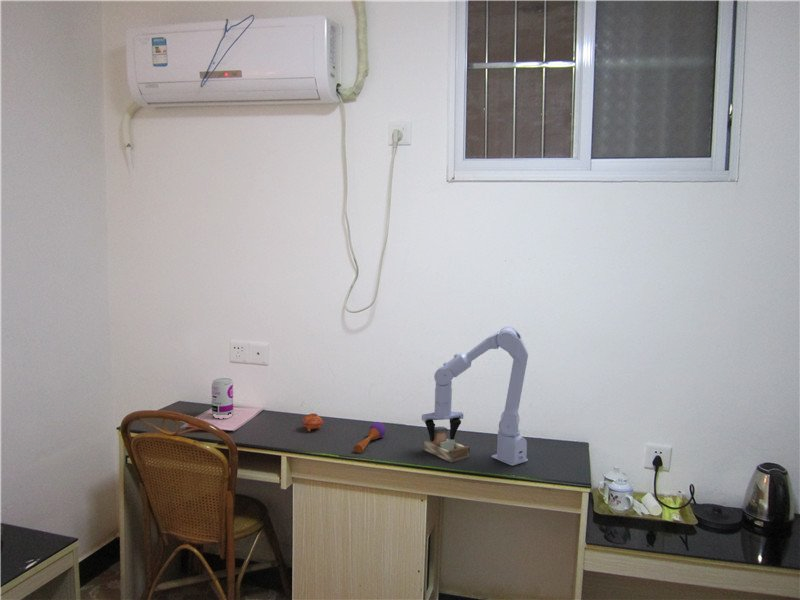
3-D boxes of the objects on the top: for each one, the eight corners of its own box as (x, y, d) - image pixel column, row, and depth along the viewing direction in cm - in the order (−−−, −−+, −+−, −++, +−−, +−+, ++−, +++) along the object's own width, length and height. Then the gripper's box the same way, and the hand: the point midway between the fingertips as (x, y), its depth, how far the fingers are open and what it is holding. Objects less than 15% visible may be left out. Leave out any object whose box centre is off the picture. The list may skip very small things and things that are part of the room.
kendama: (348, 441, 198) (371, 420, 217) (352, 457, 199) (374, 435, 217) (364, 440, 196) (386, 419, 215) (367, 457, 197) (389, 434, 215)
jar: (443, 445, 204) (444, 426, 204) (448, 450, 200) (449, 430, 199) (431, 446, 203) (431, 427, 202) (435, 451, 199) (436, 431, 198)
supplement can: (236, 414, 238) (236, 378, 236) (228, 420, 230) (228, 383, 228) (217, 413, 239) (216, 377, 237) (208, 419, 230) (208, 382, 229)
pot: (296, 429, 220) (299, 411, 220) (311, 429, 225) (314, 412, 226) (309, 433, 214) (312, 415, 215) (325, 434, 220) (328, 416, 221)
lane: (469, 457, 196) (469, 446, 196) (451, 462, 191) (451, 451, 191) (442, 445, 207) (442, 435, 207) (424, 449, 202) (424, 439, 202)
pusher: (454, 449, 200) (454, 440, 200) (441, 452, 197) (442, 443, 196) (452, 448, 201) (452, 439, 201) (439, 451, 197) (440, 442, 197)
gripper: (426, 405, 193) (425, 445, 195) (467, 403, 197) (465, 442, 199) (420, 400, 200) (419, 438, 202) (459, 397, 204) (458, 435, 206)
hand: (441, 439), depth 201 cm, fingers open, 7 cm apart
